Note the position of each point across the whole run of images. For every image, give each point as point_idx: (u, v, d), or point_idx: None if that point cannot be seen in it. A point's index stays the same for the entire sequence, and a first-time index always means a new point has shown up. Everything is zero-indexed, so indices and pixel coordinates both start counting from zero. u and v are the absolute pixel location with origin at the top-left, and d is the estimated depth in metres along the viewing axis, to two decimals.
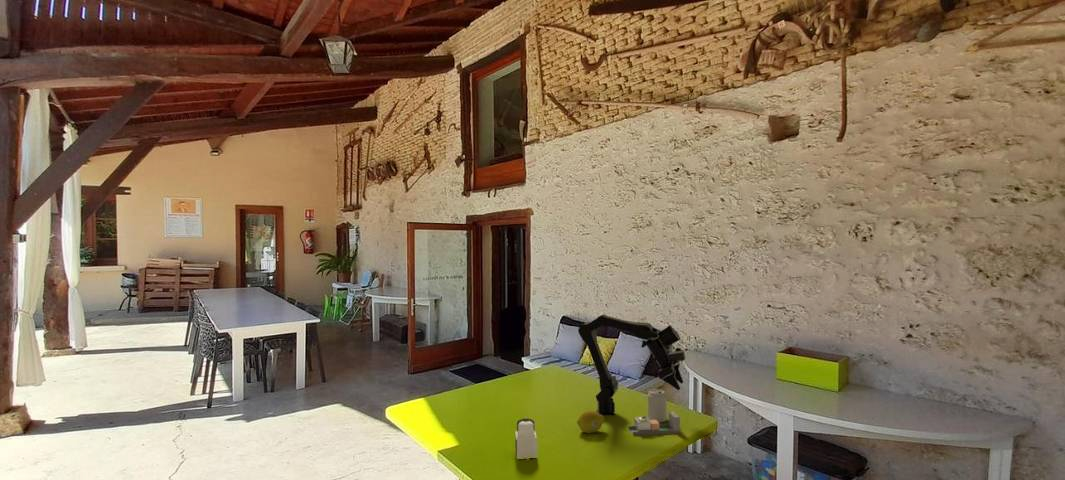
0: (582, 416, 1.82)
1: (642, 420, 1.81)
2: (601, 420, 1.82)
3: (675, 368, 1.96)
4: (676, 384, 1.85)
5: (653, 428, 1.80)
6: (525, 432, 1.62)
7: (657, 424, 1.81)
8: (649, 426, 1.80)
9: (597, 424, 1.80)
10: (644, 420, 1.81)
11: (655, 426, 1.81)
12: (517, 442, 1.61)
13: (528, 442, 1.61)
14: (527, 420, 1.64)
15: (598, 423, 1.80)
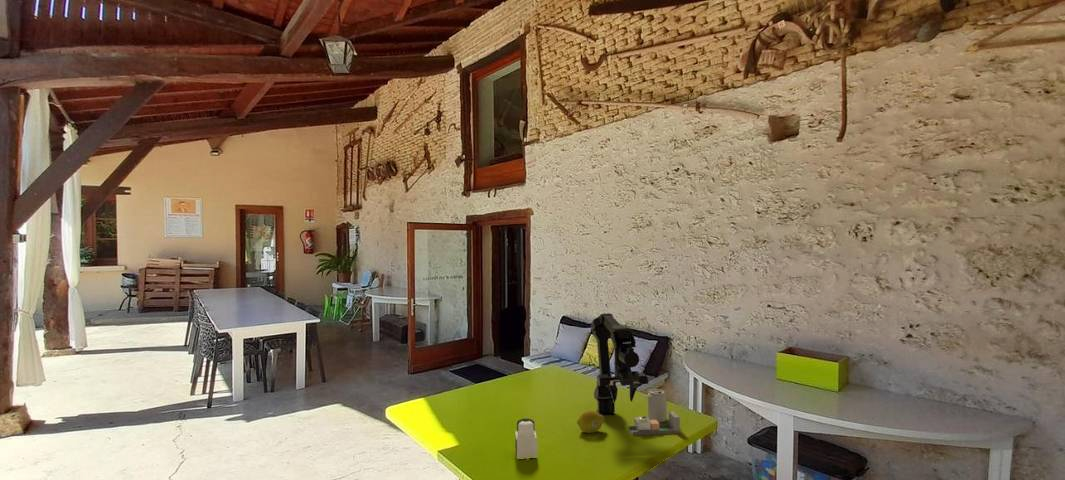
0: (582, 416, 1.82)
1: (642, 420, 1.81)
2: (601, 420, 1.82)
3: (632, 385, 1.81)
4: (612, 396, 1.81)
5: (653, 428, 1.80)
6: (525, 432, 1.62)
7: (657, 424, 1.81)
8: (649, 426, 1.80)
9: (597, 424, 1.80)
10: (644, 420, 1.81)
11: (655, 426, 1.81)
12: (517, 442, 1.61)
13: (528, 442, 1.61)
14: (527, 420, 1.64)
15: (598, 423, 1.80)
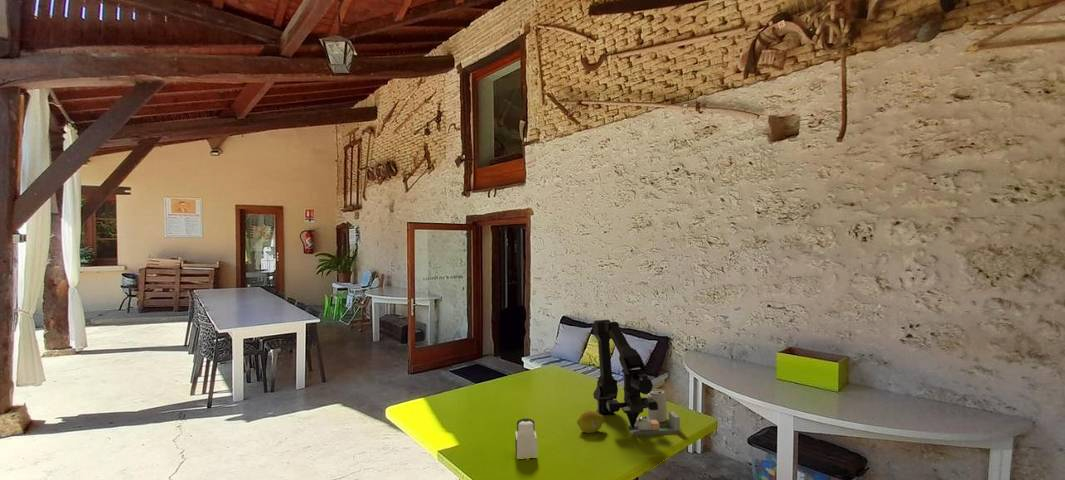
0: (582, 416, 1.82)
1: (643, 420, 1.81)
2: (601, 420, 1.82)
3: None
4: (629, 421, 1.81)
5: (653, 428, 1.80)
6: (525, 432, 1.62)
7: (657, 424, 1.81)
8: (650, 426, 1.80)
9: (597, 424, 1.80)
10: (645, 420, 1.81)
11: (655, 426, 1.81)
12: (517, 442, 1.61)
13: (528, 442, 1.61)
14: (527, 420, 1.64)
15: (598, 423, 1.80)
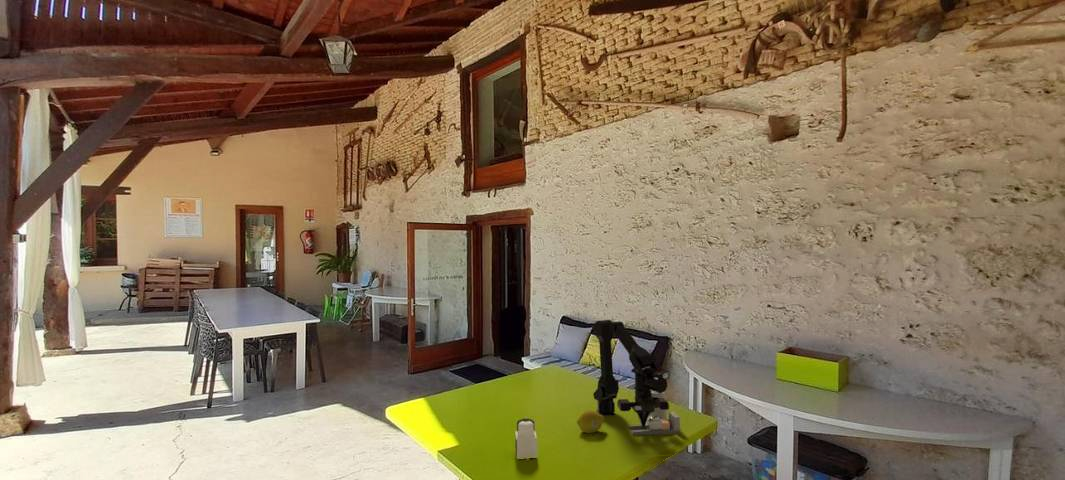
0: (582, 416, 1.82)
1: (653, 419, 1.81)
2: (601, 420, 1.82)
3: None
4: (640, 421, 1.82)
5: (663, 428, 1.81)
6: (525, 432, 1.62)
7: (667, 424, 1.81)
8: (660, 425, 1.80)
9: (597, 424, 1.80)
10: (655, 419, 1.81)
11: (665, 426, 1.81)
12: (517, 442, 1.61)
13: (528, 442, 1.61)
14: (527, 420, 1.64)
15: (598, 423, 1.80)
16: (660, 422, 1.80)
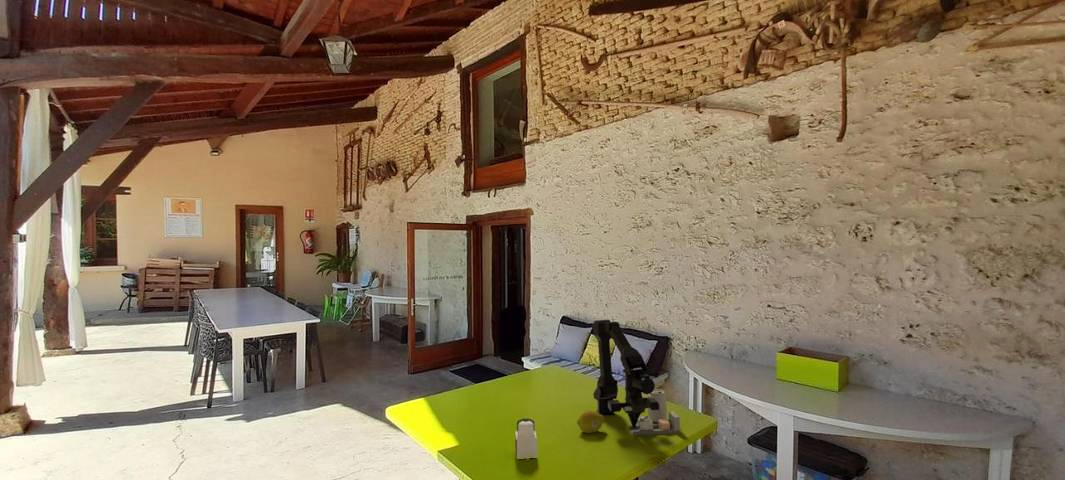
0: (582, 416, 1.82)
1: (644, 420, 1.81)
2: (601, 420, 1.82)
3: None
4: (631, 421, 1.82)
5: (663, 428, 1.81)
6: (525, 432, 1.62)
7: (667, 424, 1.81)
8: (651, 426, 1.80)
9: (597, 424, 1.80)
10: (646, 420, 1.81)
11: (665, 426, 1.81)
12: (517, 442, 1.61)
13: (528, 442, 1.61)
14: (527, 420, 1.64)
15: (598, 423, 1.80)
16: (651, 422, 1.80)
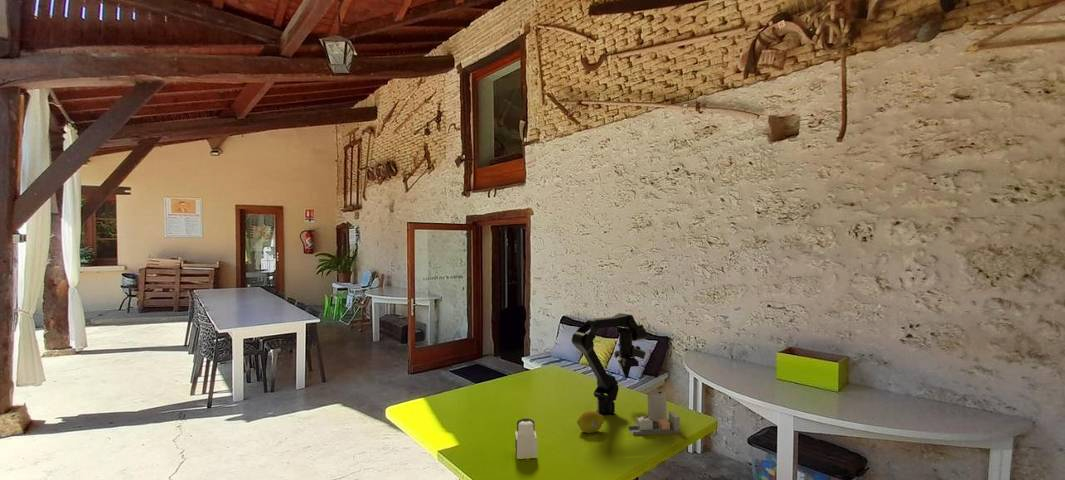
0: (582, 416, 1.82)
1: (644, 420, 1.81)
2: (601, 420, 1.82)
3: None
4: (627, 373, 2.09)
5: (663, 428, 1.81)
6: (525, 432, 1.62)
7: (667, 424, 1.81)
8: (651, 426, 1.80)
9: (597, 424, 1.80)
10: (646, 420, 1.81)
11: (665, 426, 1.81)
12: (517, 442, 1.61)
13: (528, 442, 1.61)
14: (527, 420, 1.64)
15: (598, 423, 1.80)
16: (651, 422, 1.80)
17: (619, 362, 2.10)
